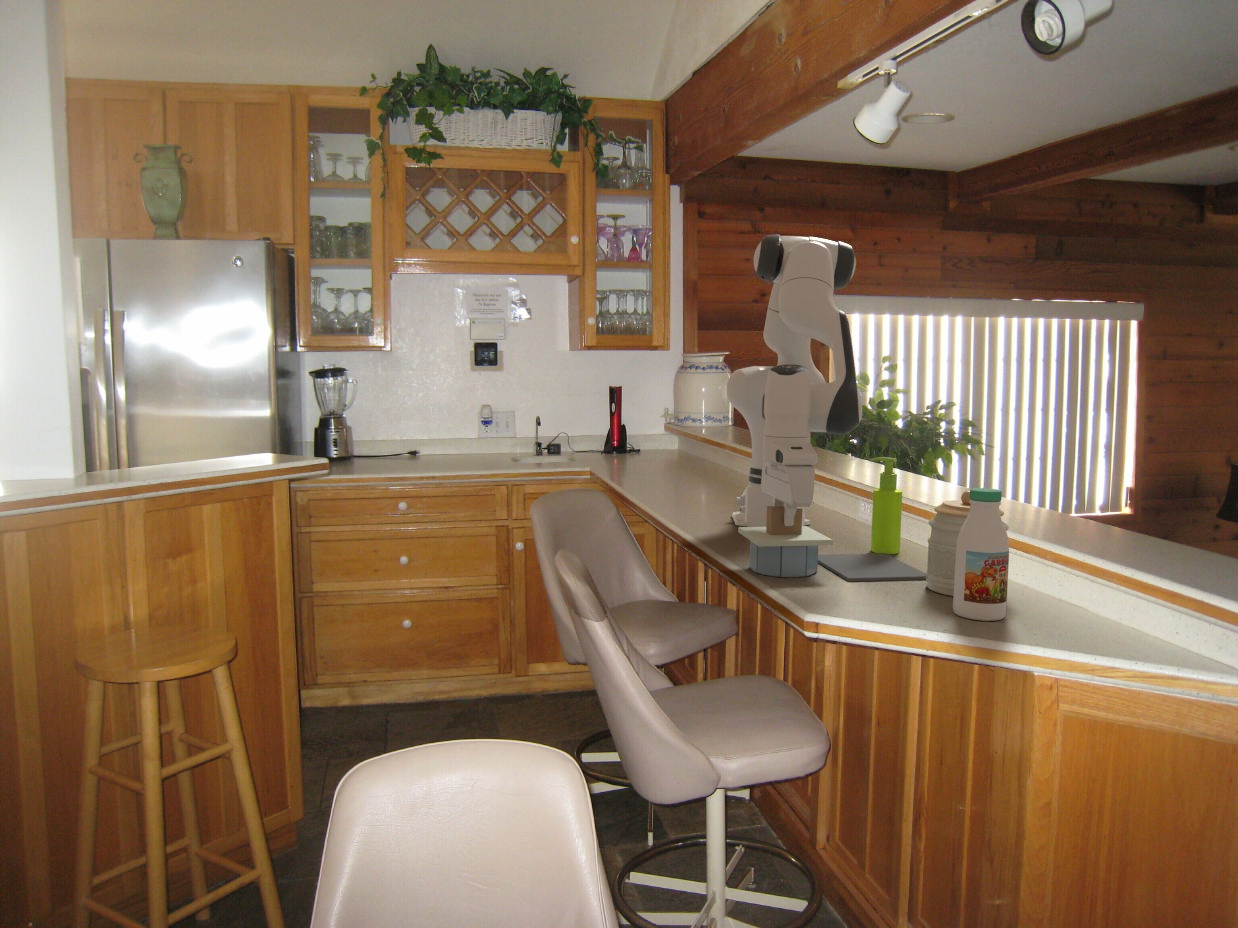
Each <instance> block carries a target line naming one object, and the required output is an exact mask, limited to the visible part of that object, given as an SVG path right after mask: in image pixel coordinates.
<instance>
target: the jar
mask: <svg viewBox="0 0 1238 928" xmlns="http://www.w3.org/2000/svg"><path fill="white" fill-rule="evenodd" d="M969 494H970V490H965V491H963V493H962V494H961V496H960V500H959V499H958V500H957V499H956V500H955V499H954V500H946V501H943V502H942V503H941V504H939V505H936V506H935V507H934V508H933V511H934V512H936V513H935V516H934V517H932V518H929V520H928V523H927V524H928V525H929V526H930V528H931V531H930V537H929V538H927V543H928V549H927V568H926V572H925V573H926V580H925V581H926V587H927V588H928V589H929V590H930V591H932V592H936V593H938V594H941V595H945V596H950V597H953V596H954V576H955V560H956V547H957V539H958V535H959V532H960V530H961V528H962V526H963V524H964V522H965V521H966V519H967V516H968V514H969V511H970V507H971V504H970V502H969V501H970V498H969ZM999 512H1000V516H1001V517H1004V515H1005V512H1004V511H1003V510H1002V509H1000V508H999ZM1001 520H1002V523H1003V525H1004V527H1005V530H1006V532H1007V531H1008V530H1009V525H1008V524H1007V523H1005V522H1004V521H1003V519H1002V518H1001Z"/></svg>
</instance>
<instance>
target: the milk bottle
mask: <svg viewBox="0 0 1238 928" xmlns="http://www.w3.org/2000/svg"><path fill="white" fill-rule="evenodd" d="M969 491H970V494H969V498H970V501H969V502H970V504H971V507H970V511H969V514H968V516H967V519H966V521H965V522H964V524H963V526H962V528H961V530H960V532H959V535H958V539H957V547H956V560H955V576H954V596H952V597H953V599H952V609H953V613H954V614H955V615H957V616H958V617H962V618H964V619H970V620H976V621H982V622H983V621H986V622H991V621H992V622H993V621H1001V620H1003V619H1005V617H1006V613H1007V603H1008V599H1007V598H1008V583H1009V568H1010V567H1009V561H1010V558H1009V557H1010V543H1009V541H1010V540H1009V536H1008V532H1007V531H1006V530H1005V527H1004V525H1003V523H1002V521H1003V519H1002V516H1000V512H999V509H1000V506H1001V505H1002V495H1003V493H1002V491H1001V490H1000V489H996V488H988V487H987V488H986V487H985V488H984V487H976V488H975V487H972V488H970V490H969ZM1001 519H1002V520H1001Z"/></svg>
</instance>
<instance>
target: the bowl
mask: <svg viewBox="0 0 1238 928" xmlns="http://www.w3.org/2000/svg"><path fill="white" fill-rule="evenodd" d="M818 555H819V545H814V546H763V547H759V546H757V545H756V544H754V543H753V542H752V541H750V540H749V566H748V567H749V568H750V569H751V570H752V571H753V572H754V573H757V574H760V575H762V576H763V575H764V576H768V577H775V578H776V577H777V578H803V577H805V578H806V577H809V576H812V575H815V573H817V572H818V565H819V563H818Z"/></svg>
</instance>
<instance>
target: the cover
mask: <svg viewBox="0 0 1238 928" xmlns="http://www.w3.org/2000/svg"><path fill="white" fill-rule="evenodd" d="M784 511H785V508H784V506H767V522H766V527H748V526H738V527H737V528H738V529H737V533H738V534H740V535H742V536H743V537H745V538H746V539H747V540H749V542H750V541H752V542H753V543H754V544H756V545H757V546H759V547H763V546H814V545H818V546H833V544H834V543H833V541H834V540H833V539H832V538H830V537H828V536H826V535H824V534H822V533H821V532H819V531H816V530H815V529H813V528H812V527H810V526H808V525H804V526H802V508H800V507H797V510H796V513H795V516H794V525H793V526H785V525H784V524H783V523H782V521H783V520H782V516H784Z"/></svg>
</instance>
